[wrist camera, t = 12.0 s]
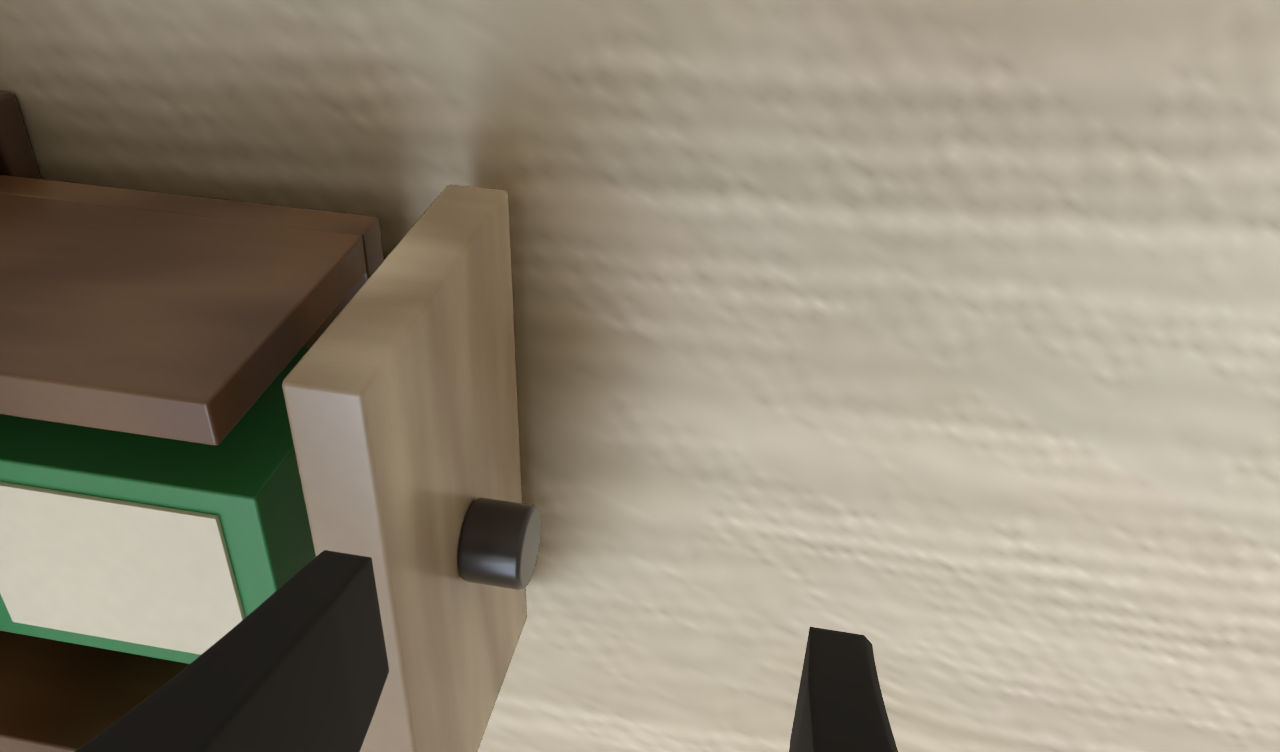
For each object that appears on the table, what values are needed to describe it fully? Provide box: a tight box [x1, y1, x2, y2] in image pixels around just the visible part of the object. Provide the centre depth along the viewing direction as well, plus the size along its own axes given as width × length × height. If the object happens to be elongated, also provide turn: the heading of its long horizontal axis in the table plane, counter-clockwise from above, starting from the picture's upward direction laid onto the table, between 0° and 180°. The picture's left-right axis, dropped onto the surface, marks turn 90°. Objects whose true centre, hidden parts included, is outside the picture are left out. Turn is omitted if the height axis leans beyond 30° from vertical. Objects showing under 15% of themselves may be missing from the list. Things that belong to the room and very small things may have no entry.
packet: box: [0, 347, 316, 664], centre depth 21 cm, size 5×6×5 cm
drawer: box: [0, 175, 541, 752], centre depth 21 cm, size 14×11×7 cm
